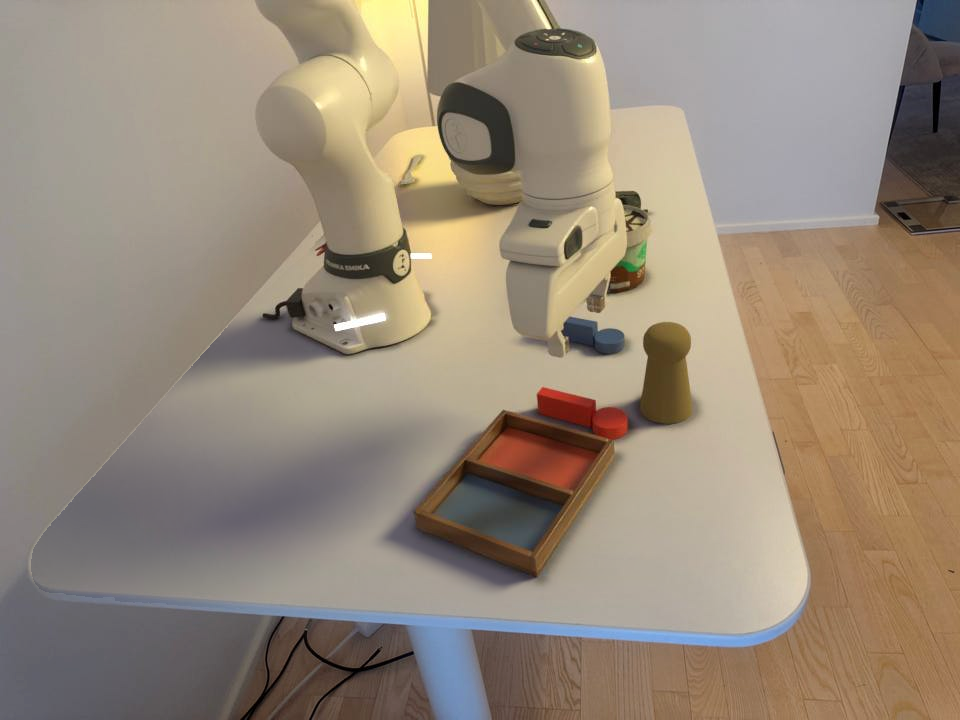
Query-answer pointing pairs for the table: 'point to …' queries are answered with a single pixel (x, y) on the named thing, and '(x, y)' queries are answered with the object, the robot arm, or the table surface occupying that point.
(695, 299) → the table surface
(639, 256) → the food container
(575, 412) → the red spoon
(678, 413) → the brown game pawn
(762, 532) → the table surface
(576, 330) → the blue block with disc
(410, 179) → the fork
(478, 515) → the sorting tray
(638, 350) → the table surface
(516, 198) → the table lamp
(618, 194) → the mobile phone
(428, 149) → the table surface
